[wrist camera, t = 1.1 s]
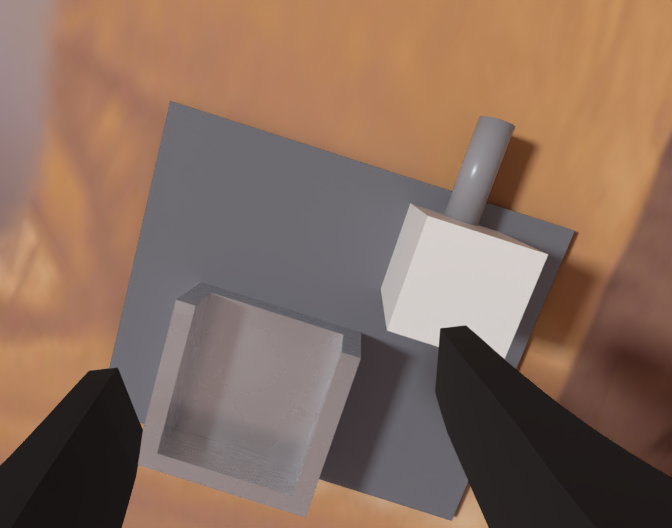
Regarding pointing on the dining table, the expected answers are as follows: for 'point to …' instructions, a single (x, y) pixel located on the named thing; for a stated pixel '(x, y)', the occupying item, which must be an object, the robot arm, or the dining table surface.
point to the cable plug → (462, 258)
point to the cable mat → (309, 284)
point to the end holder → (248, 397)
